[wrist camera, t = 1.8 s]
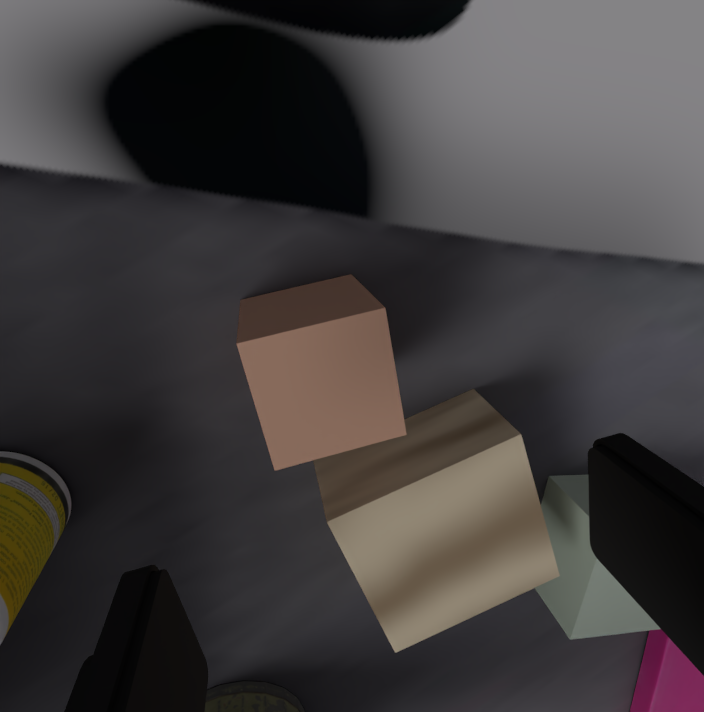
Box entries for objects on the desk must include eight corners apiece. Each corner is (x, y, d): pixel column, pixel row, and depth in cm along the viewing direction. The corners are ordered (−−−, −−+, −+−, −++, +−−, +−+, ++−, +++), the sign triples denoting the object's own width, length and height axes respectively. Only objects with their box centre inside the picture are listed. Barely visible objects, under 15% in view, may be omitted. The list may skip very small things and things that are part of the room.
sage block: (547, 474, 28) (605, 532, 23) (648, 470, 29) (722, 525, 25) (521, 569, 30) (570, 639, 26) (617, 561, 32) (678, 626, 27)
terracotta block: (240, 299, 21) (236, 343, 15) (351, 273, 21) (385, 307, 16) (269, 399, 23) (274, 470, 17) (370, 373, 23) (406, 434, 18)
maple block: (312, 457, 25) (326, 522, 20) (471, 386, 25) (521, 434, 20) (371, 575, 28) (395, 653, 24) (510, 511, 29) (559, 576, 24)
